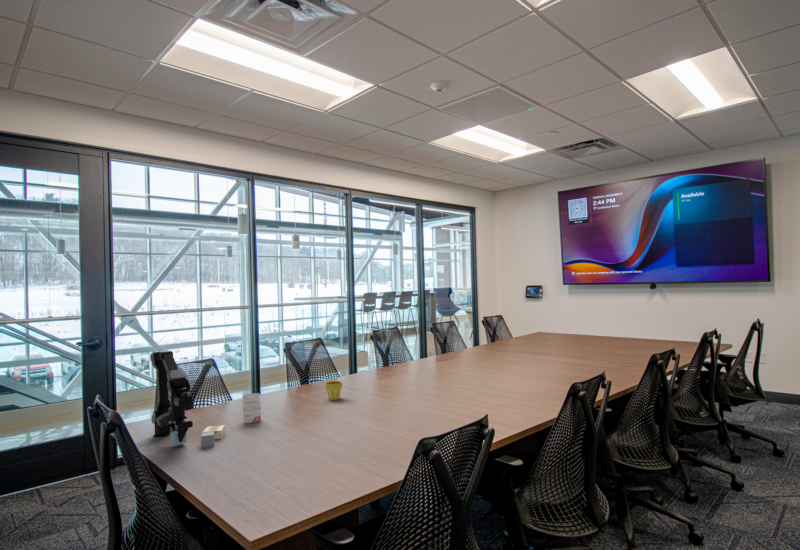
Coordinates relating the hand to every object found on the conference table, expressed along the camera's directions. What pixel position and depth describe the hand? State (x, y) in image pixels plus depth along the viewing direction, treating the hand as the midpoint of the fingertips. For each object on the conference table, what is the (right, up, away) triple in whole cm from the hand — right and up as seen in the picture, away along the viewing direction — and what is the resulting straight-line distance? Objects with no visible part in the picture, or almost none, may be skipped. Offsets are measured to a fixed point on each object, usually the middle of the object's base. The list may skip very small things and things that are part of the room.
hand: (178, 440), depth 196 cm
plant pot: (+58, -2, +74) cm, 93 cm away
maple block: (+11, -2, +11) cm, 16 cm away
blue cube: (0, -1, 0) cm, 1 cm away
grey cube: (+13, -2, 0) cm, 13 cm away
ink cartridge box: (+22, -3, +33) cm, 39 cm away
